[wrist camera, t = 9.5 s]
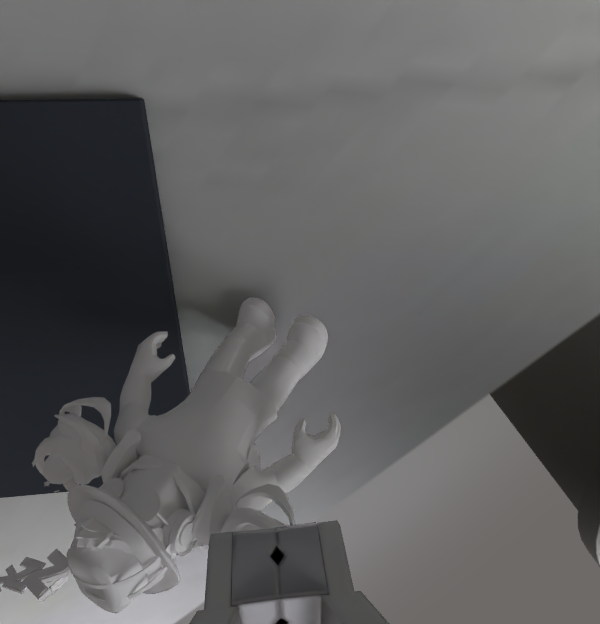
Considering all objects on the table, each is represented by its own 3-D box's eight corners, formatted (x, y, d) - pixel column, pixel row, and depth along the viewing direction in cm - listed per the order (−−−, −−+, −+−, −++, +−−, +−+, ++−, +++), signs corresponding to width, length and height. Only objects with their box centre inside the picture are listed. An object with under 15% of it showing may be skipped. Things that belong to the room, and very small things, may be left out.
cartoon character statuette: (197, 328, 21) (-48, 570, 13) (193, 260, 19) (-114, 505, 10) (374, 402, 19) (224, 760, 10) (396, 336, 17) (224, 736, 8)
